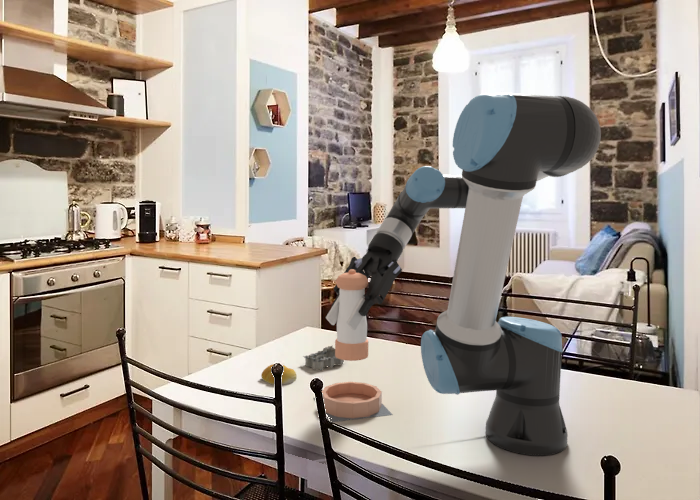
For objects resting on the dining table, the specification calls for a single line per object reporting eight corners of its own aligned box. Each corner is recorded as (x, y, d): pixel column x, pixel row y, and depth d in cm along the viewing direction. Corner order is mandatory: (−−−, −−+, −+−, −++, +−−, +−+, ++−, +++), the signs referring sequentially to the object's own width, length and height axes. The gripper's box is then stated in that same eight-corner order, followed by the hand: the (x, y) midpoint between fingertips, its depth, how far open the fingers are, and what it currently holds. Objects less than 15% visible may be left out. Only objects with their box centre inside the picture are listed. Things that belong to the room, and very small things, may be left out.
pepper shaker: (330, 358, 119) (330, 270, 117) (342, 349, 126) (342, 266, 124) (362, 362, 116) (362, 272, 114) (372, 353, 123) (373, 268, 121)
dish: (389, 413, 118) (389, 399, 117) (331, 420, 114) (331, 406, 113) (369, 392, 130) (369, 379, 129) (316, 398, 126) (316, 385, 126)
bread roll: (276, 389, 133) (276, 373, 133) (256, 380, 140) (256, 364, 140) (304, 382, 139) (304, 366, 138) (283, 373, 146) (283, 358, 145)
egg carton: (333, 358, 159) (333, 344, 158) (348, 365, 153) (348, 350, 152) (301, 364, 153) (301, 350, 152) (315, 372, 147) (315, 357, 146)
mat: (392, 416, 117) (392, 414, 117) (329, 424, 113) (329, 422, 113) (370, 393, 131) (370, 391, 130) (313, 399, 126) (313, 398, 126)
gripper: (428, 256, 124) (381, 341, 113) (366, 249, 136) (318, 326, 126) (415, 233, 119) (364, 321, 109) (352, 229, 132) (301, 307, 121)
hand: (340, 323), depth 117 cm, fingers closed on pepper shaker, 5 cm apart
